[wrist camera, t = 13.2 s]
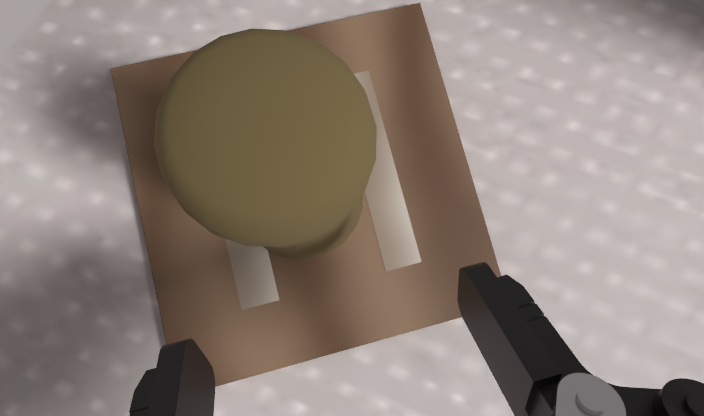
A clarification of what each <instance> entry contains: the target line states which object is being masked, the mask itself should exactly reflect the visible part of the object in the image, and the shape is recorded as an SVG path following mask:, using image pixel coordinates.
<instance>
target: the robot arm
mask: <svg viewBox="0 0 704 416" xmlns="http://www.w3.org/2000/svg"><path fill="white" fill-rule="evenodd" d="M457 300H458V306H459V309H460V312H461V315H462V317H463V319H464V321H465V323H466V325H467V327H468V329H469V331H470V332H471V334H472V336H473V338H474V340H475V342H476V344H477V346H478V348H479V349H480V351H481V353H482V355H483V357H484V359H485V361H486V363H487V364H488V366H489V368H490V370H491V372H492V374H493V376H494V378H495V379H496V381H497V383H498V385H499V387H500V389H501V391H502V393H503V394H504V396H505V398H506V400H507V402H508V404H509V406H510V408H511V410H512V411H513V413H514V415H515V416H704V384H703V383H701V382H698V381H695V380H690V379H674V380H671V381H669V382H668V383H666V384H665V386H664V387H663V388H662V389H647V388H631V387H620V386H615V385H612V384H609V383H606V382H605V381H603V380H602V379H600V378H598V377H596V376H593V375H592V374H591V373H590V372H588V371H587V370H586V369H585V368H584V367H583V366H582V365H581V363H580V362H579V361H578V359H577V358H576V357H575V355H574V354H573V353H572V351H571V350H570V349H569V347H568V346H567V345H566V343H565V342H564V341H563V339H562V338H561V337H560V335H559V334H558V332H557V331H556V330H555V328H554V327H553V326H552V324H551V323H550V322H549V320H548V319H547V318H546V317H545V316H544V314H543V312H542V311H541V309H540V308H539V307H538V305H537V304H535V303H534V300H533V299H532V297H531V296H530V295H529V293H528V292H527V291H526V289H525V288H524V286H522V285H521V284H520V283H518V282H517V281H515V280H514V279H512V278H511V277H510V276H508V275H504V276H500V277H496V275H495V274H494V272H493V271H492V269H491V268H490V266H489V265H488V264H487V263H486V262H481V263H477V264H473V265H470V266H466V267H462V268H460V269H459V279H458V296H457ZM214 398H215V375H214V371H213V368H212V365H211V364H210V362H209V361H208V359H207V358H206V357H205V355H204V354H203V352H202V351H201V349H200V348H199V347H198V345H197V344H196V342H195V341H194V340H193V339H191V338H190V339H186V340H182V341H179V342H175V343H171V344H167V345H164V346H163V347H162V348H161V350H160V353H159V358H158V363H157V368H154V369H151V370H147V371H146V372H145V374H144V375H143V377H142V379H141V380H140V382H139V384H138V386H137V387H136V389H135V391H134V394H133V399H132V403H131V407H130V411H129V412H130V416H213V412H214Z"/></svg>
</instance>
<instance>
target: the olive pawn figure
mask: <svg viewBox="0 0 704 416" xmlns="http://www.w3.org/2000/svg"><path fill="white" fill-rule="evenodd" d="M376 137H377V126H376V123H375V120H374V117H373V113H372V110H371V107H370V104H369V100H368V97H367V94H366V92H365V90H364V88H363V86H362V85H361V84H360V82H359V81H358V79H357V78H356V76H355V75H354V74H353V72H352V71H351V69H350V68H349V67H348V65H347V64H346V62H345V61H343V60H342V59H341V58H339V57H338V56H337V55H335V54H334V53H333V52H331V51H330V50H329V49H327V48H326V47H325V46H323V45H322V44H321V43H319V42H317V41H314V40H311V39H308V38H306V37H303V36H300V35H297V34H295V33H292V32H289V31H284V30H266V29H248V30H244V31H240V32H236V33H232V34H228V35H224V36H220V37H219V38H217V39H215V40H214V41H212V42H210V43H208V44H207V45H205V46H203V47H202V48H200V49H198V50H197V51H195V52H193V54H192V55H191V56H190V57H189V58H188V59H187V60H186V61H185V62H184V63H183V65H182V66H181V67H180V68H179V69H178V70H177V71H176V72H175V73H174V75H173V76H172V77H171V79H170V81H169V84H168V86H167V88H166V90H165V93H164V95H163V97H162V99H161V102H160V104H159V106H158V108H157V112H156V123H155V134H154V147H155V151H156V156H157V160H158V164H159V168H160V172H161V176H162V178H163V179H164V181H165V183H166V184H167V186H168V187H169V189H170V190H171V192H172V193H173V195H174V196H175V198H176V200H177V201H178V203H179V204H180V206H181V207H182V209H183V210H184V211H185V213H187V214H188V215H189V216H190V217H192V218H193V219H194V220H196V221H197V222H198V223H199V224H201V225H202V226H203V227H204V228H206V229H207V230H208V231H210V232H211V233H212V234H214V235H217V236H220V237H222V238H225V239H228V240H231V241H234V242H236V243H239V244H242V245H245V246H263V247H264V248H265V249H267V250H268V251H269V252H271V253H274V254H277V255H280V256H282V257H285V258H288V259H311V258H315V257H318V256H322V255H325V254H328V253H330V252H331V251H332V250H334V249H335V248H337V247H338V246H340V245H341V244H343V243H344V242H345V241H346V239H347V238H348V237H349V236H350V234H351V233H352V232H353V230H354V229H355V228H356V226H357V223H358V220H359V217H360V215H361V212H362V209H363V193H364V191H365V189H366V186H367V183H368V181H369V178H370V175H371V172H372V169H373V167H374V164H375V161H376Z"/></svg>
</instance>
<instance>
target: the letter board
mask: <svg viewBox="0 0 704 416" xmlns="http://www.w3.org/2000/svg"><path fill="white" fill-rule="evenodd" d="M289 32H292V33H295V34H297V35H300V36H303V37H306V38H308V39H311V40H314V41H317V42H319V43H321V44H322V45H323V46H325V47H326V48H327V49H329V50H330V51H331V52H333V53H334V54H335V55H337V56H338V57H339V58H341V59H342V60H343V61H345V62H346V64H347V65H348V67H349V68H350V69H351V71H352V72H353V74H354V75H355V76H356V78H357V79H358V81H359V82H360V84H361V85H362V86H363V88H364V90H365V92H366V94H367V97H368V100H369V104H370V107H371V110H372V113H373V117H374V120H375V123H376V126H377V137H376V161H375V164H374V167H373V169H372V172H371V175H370V178H369V181H368V183H367V186H366V189H365V191H364V193H363V209H362V212H361V215H360V217H359V220H358V223H357V226H356V228H355V229H354V230H353V232H352V233H351V234H350V236H349V237H348V238H347V239H346V241H345V242H344V243H343V244H341V245H340V246H338V247H337V248H335V249H334V250H332V251H331V252H330V253H328V254H325V255H322V256H318V257H315V258H311V259H288V258H285V257H282V256H280V255H277V254H274V253H271V252H269V251H268V250H267V249H265V248H264V247H263V246H245V245H242V244H239V243H236V242H234V241H231V240H228V239H225V238H222V237H220V236H217V235H214V234H212V233H211V232H210V231H208V230H207V229H206V228H204V227H203V226H202V225H201V224H199V223H198V222H197V221H196V220H194V219H193V218H192V217H190V216H189V215H188V214H187V213H185V211H184V210H183V209H182V207H181V206H180V204H179V203H178V201H177V200H176V198H175V196H174V195H173V193H172V192H171V190H170V189H169V187H168V186H167V184H166V183H165V181H164V179H163V178H162V176H161V172H160V168H159V164H158V160H157V156H156V151H155V147H154V134H155V123H156V112H157V108H158V106H159V104H160V102H161V99H162V97H163V95H164V93H165V90H166V88H167V86H168V84H169V81H170V79H171V77H172V76H173V75H174V73H175V72H176V71H177V70H178V69H179V68H180V67H181V66H182V65H183V63H184V62H185V61H186V60H187V59H188V58H189V57H190V56H191V55H192V54H193V52H195V51H192V52H187V53H182V54H178V55H173V56H168V57H164V58H159V59H154V60H150V61H145V62H140V63H136V64H131V65H126V66H121V67H117V68H112V69H111V72H112V77H113V82H114V87H115V92H116V97H117V102H118V107H119V112H120V117H121V122H122V127H123V132H124V137H125V141H126V146H127V151H128V156H129V161H130V166H131V171H132V176H133V181H134V186H135V191H136V196H137V201H138V206H139V210H140V215H141V220H142V225H143V230H144V235H145V240H146V245H147V250H148V255H149V260H150V265H151V270H152V275H153V280H154V284H155V289H156V294H157V299H158V304H159V309H160V314H161V319H162V324H163V329H164V334H165V339H166V344H171V343H175V342H179V341H182V340H186V339H190V338H191V339H193V340H194V341H195V342H196V344H197V345H198V347H199V348H200V349H201V351H202V352H203V354H204V355H205V357H206V358H207V359H208V361H209V362H210V364H211V365H212V368H213V371H214V375H215V387H216V386H219V385H223V384H226V383H230V382H234V381H237V380H241V379H244V378H248V377H251V376H255V375H258V374H262V373H265V372H269V371H272V370H276V369H280V368H283V367H287V366H290V365H294V364H297V363H301V362H304V361H308V360H311V359H315V358H318V357H322V356H326V355H329V354H333V353H336V352H340V351H343V350H347V349H350V348H354V347H357V346H361V345H364V344H368V343H372V342H375V341H379V340H382V339H386V338H389V337H393V336H396V335H400V334H403V333H407V332H410V331H414V330H417V329H421V328H425V327H428V326H432V325H435V324H439V323H442V322H446V321H449V320H453V319H456V318H460V317H462V315H461V312H460V309H459V306H458V300H457V296H458V279H459V269H460V268H462V267H466V266H470V265H473V264H477V263H481V262H486V263H487V264H488V265H489V266H490V268H491V269H492V271H493V272H494V274H495V275H496V277H500V276H501V274H500V271H499V267H498V264H497V261H496V257H495V254H494V250H493V247H492V244H491V240H490V237H489V234H488V230H487V227H486V224H485V220H484V217H483V213H482V210H481V207H480V203H479V200H478V197H477V193H476V190H475V187H474V183H473V180H472V177H471V173H470V170H469V166H468V163H467V160H466V156H465V153H464V150H463V146H462V143H461V140H460V136H459V133H458V129H457V126H456V123H455V119H454V116H453V113H452V109H451V106H450V103H449V99H448V96H447V92H446V89H445V86H444V82H443V79H442V76H441V72H440V69H439V66H438V62H437V59H436V56H435V52H434V49H433V45H432V42H431V39H430V35H429V32H428V29H427V25H426V22H425V19H424V15H423V12H422V8H421V5H420V3H417V4H412V5H408V6H403V7H398V8H394V9H389V10H384V11H379V12H375V13H370V14H365V15H361V16H356V17H351V18H347V19H342V20H337V21H333V22H328V23H323V24H318V25H314V26H309V27H304V28H300V29H295V30H290V31H289Z"/></svg>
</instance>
